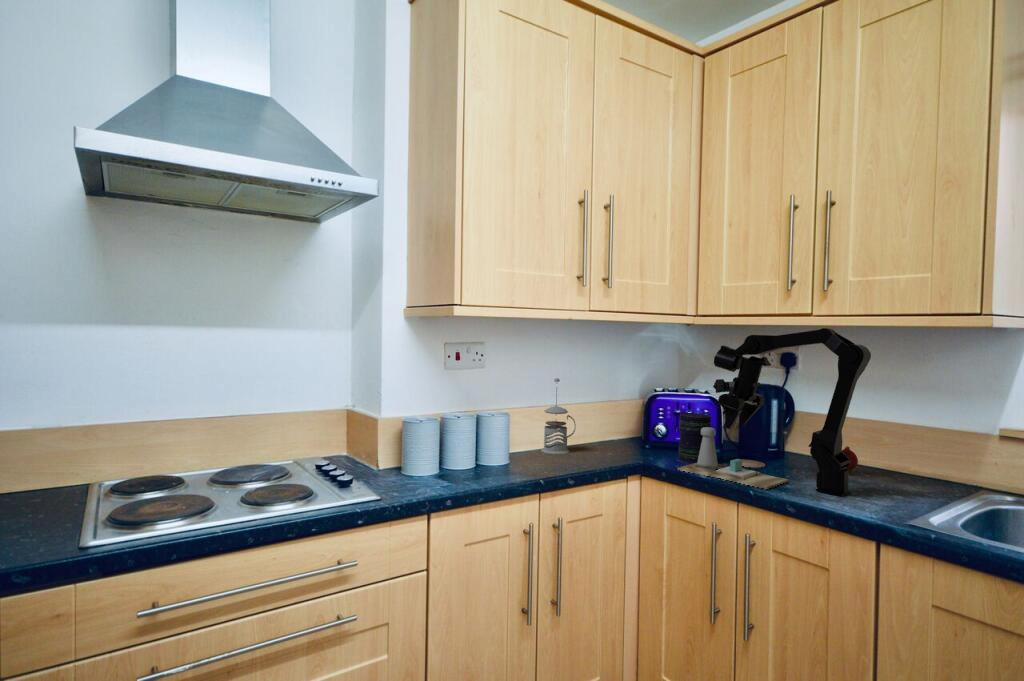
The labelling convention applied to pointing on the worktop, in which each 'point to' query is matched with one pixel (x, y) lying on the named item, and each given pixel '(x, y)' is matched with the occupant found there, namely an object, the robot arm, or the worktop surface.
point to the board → (755, 480)
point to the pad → (752, 464)
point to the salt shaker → (707, 450)
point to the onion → (851, 456)
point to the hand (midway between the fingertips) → (734, 427)
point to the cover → (737, 469)
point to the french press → (556, 431)
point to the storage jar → (691, 435)
